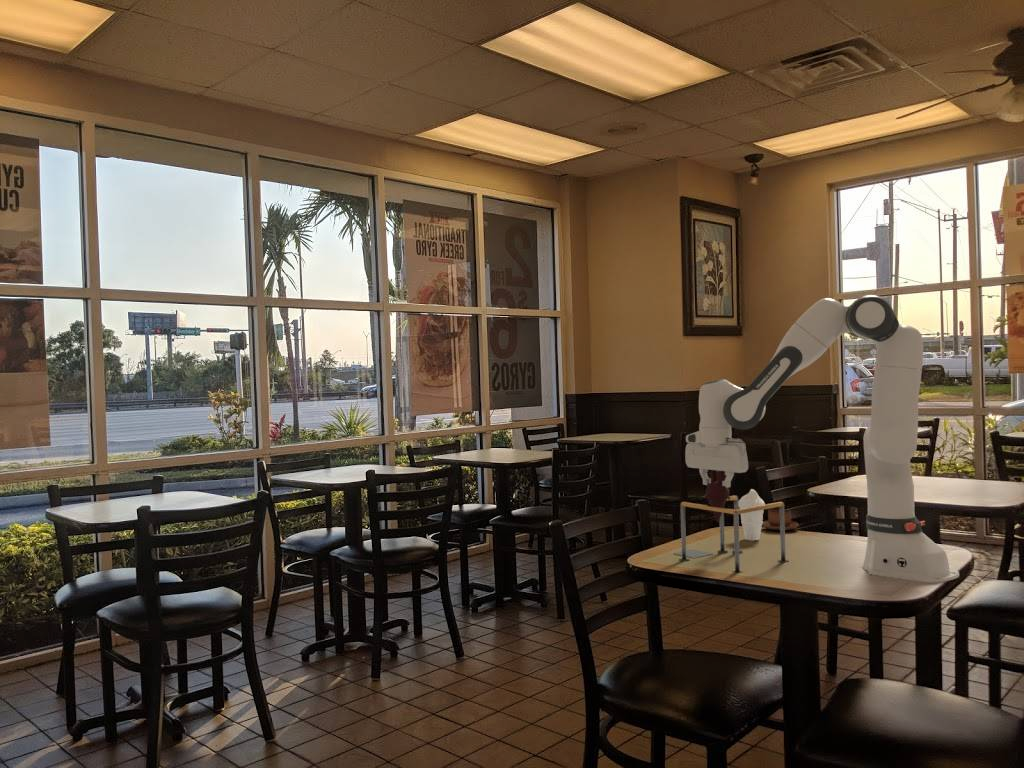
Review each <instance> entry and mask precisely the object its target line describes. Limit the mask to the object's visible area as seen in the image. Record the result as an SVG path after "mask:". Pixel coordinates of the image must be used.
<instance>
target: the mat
mask: <svg viewBox="0 0 1024 768" xmlns="http://www.w3.org/2000/svg"><path fill="white" fill-rule="evenodd" d="M675 554H677V555H676V556H680V555H681V556H680V557H682V551H678V552H674V553H673V555H675ZM713 555H714V553H713V552H706V551H701V550H697V549H686V558H688V559H690V558H691V559H700V558H703V557H710V556H713Z"/></svg>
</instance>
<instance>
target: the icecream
mask: <svg viewBox="0 0 1024 768" xmlns="http://www.w3.org/2000/svg"><path fill="white" fill-rule="evenodd" d="M709 478H711V483H710V484H709V485H706V489H705V496H704V498H705V499H706V500H708V502H709V504H710V505H709V506H714V507H720V508H725V505H726V502H727V499H730V497H729V496H730V489H729V487H728V488H726V487H723V486H722V485H723V484H722V481H725V479H726V475H725V471H718V470H710V471H709ZM712 513H713V516H714V519H715V521H716V523H718V522H719V523H720V517H721V514H722V512H717V511H712Z"/></svg>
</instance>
